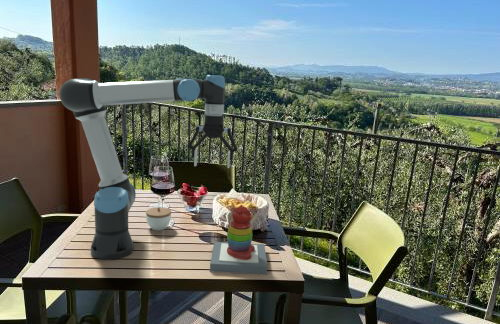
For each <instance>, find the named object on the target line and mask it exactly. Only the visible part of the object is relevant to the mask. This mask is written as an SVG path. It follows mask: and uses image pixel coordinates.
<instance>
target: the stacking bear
mask: <svg viewBox="0 0 500 324" xmlns="http://www.w3.org/2000/svg"><path fill="white" fill-rule="evenodd" d="M231 215H232V221H231V222H230V224H229V226H228V230H227V235H226V240H227V242H228V248H227V253H228V254H229V255H231V256H233V257H235V258H239V259H244V260H248V259H251V257H252V255H251V252H253V251H254V250H255V247H254V246H253V245H251V244H252V242H253V230H252V229H253V228H252V224H251V223H250V222H251V221H252V219H253V217H254V216H253V214H252V212H251V211H250V209H249V208H247V207H246V206H243V205H242V204H240V205H239V206H237V207H235V208H234V209H233V210H232V214H231Z"/></svg>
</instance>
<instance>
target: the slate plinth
mask: <svg viewBox="0 0 500 324" xmlns="http://www.w3.org/2000/svg"><path fill="white" fill-rule="evenodd" d="M251 245H253V246H254V247H255V250H254V251H253V252H251V255H252V257H251V259H248V260H244V259H239V258H235V257H233V256H231V255H229V254H228V253H227V248H228V241H227V242H226V241H224V242H223V241H213V246H212V251H211V257H210V262H209V272H211V273H212V272H214V273H215V272H216V273H231V274H232V273H233V274H234V273H235V274H254V275H267V272H268V263H267V262H268V261H267V255H266V254H267V253H266V246H265V244H264V243H251Z"/></svg>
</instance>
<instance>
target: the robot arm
mask: <svg viewBox="0 0 500 324" xmlns="http://www.w3.org/2000/svg"><path fill="white" fill-rule="evenodd" d="M225 94H226V78H225V77H224V75H217V74H216V75H214V74H213V75H212V74H211V75H210V74H207V75H206V76H205V79H196V78H183V77H181V78H175V79H166V80H165V79H163V80H144V81H143V80H140V81H121V82H118V81H117V82H104V83H103V82H101V83H100V82H99V81H97V80H93V79H91V78H87V77H85V78H70V79H68V80H67V81H65V82H64V83H63V84H62V85H61V86H60V89H59V100H60V102H61V104H62V105H63V106H64V108H66V109H67V110H70V111H71V112H72V113H73V115H74V118H75V119H76V120H79V121H80V122H81V125H82V129H83V131H84V135H85V137H86V140H87V143H88V146H89V148H90V152H91V156H92V158H93V160H94V163H95V166H96V170H97V172H98V175H99V178H100V181H99V183H98V189H99V190H98V191H96V193H95V194H94V200H93V206H94V230H95V231H94V236H93V239H92V242H91V244H90V255H91V256H92V257H93V258H95V259H99V260H108V261H109V260H117V259H123V258H124V257H127V256H129V255H130V254H131V253H132V252H133V251H134V241H133V239H132V236H131V233H130V230H129V213H130V210H131V208H132V207H133V205H134V203H135V201H136V196H137V195H136V188H135V187H134V185H133V184H132V183H131V182H130V179H129V176H128V175H127V174H125V173H123V170H122V166H121V164H120V161H119V157H118V153H117V151H116V148H115V144H114V141H113V138H112V135H111V132H110V130H109V127H108V123H107V120H106V117H105V115H106V113H107V111H108V110H107V108H106V107H107V106H116V105H130V104H131V105H134V104H148V103H165V102H184V101H185V102H192V101H196V100H204V101H205V102H204V122H203V123H204V125H203V126H200V125H197V126H196V127H195V132H194V134H193V136H192V137H191V138H190V141H189V143H188V145H187V148H188V149H190V150H191V158H193V159H194V160H193V161H194V162H193V163H194V165H193V166H194V167H197V166H198V149H197V148H198V147H199V146H200V145H201V144H202V142H203V141H205V139H207V138H209V139H212V138H213V139H218V138H219V140H220V141H221V142H222V143H223V144H224V146H225V148H226V149H227V150H229V151H228V152H227V169H230V164H231V161H232V160H233V159H234V152H237V151H238V149H239V148H238V146H237V144H236V141H235V139H234V137H233V135H232V132H231V130H232V129H231V127H225V128H224V116H223V115H224V114H225V113H224V111H225ZM202 131H203V132H204V135H202V137H200V139H199V140H198V141H197V142H196V143H195V144H194V145H193V143H194V142H195V141H196V138H197V136H198V135H199V133H200V132H202ZM224 132H225V134H227V136H228V138H229V140H230V142H231V145H232V146H231V145H230V143H229V142H228V141H227V139H226V137H224V135H223V133H224Z"/></svg>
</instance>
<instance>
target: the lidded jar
mask: <svg viewBox="0 0 500 324" xmlns="http://www.w3.org/2000/svg"><path fill="white" fill-rule="evenodd" d="M145 214H146V215H145V216H146V222H147V225H148V226H149V228H151V230H152V231H163V230H165V229H166V228H167V227H168V226H169V225H170V223H171V216H172V210H171V209H169V208H166V207H162V206H160V207H158V206H157V207H151V208H148V209H147V210H146V211H145Z"/></svg>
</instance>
